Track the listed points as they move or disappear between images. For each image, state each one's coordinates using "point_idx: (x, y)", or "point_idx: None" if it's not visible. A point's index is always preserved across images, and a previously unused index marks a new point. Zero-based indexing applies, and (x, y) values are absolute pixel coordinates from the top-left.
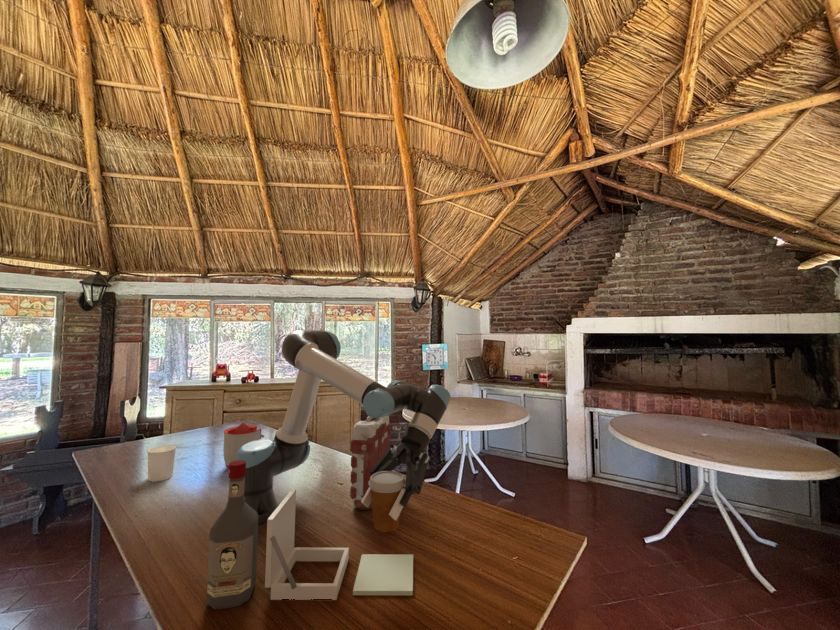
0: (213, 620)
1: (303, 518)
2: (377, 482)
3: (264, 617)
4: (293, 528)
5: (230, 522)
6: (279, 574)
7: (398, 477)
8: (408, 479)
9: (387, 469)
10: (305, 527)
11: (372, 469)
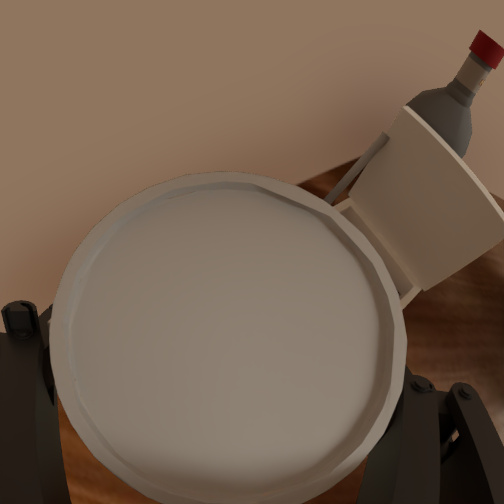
0: (355, 161)
1: (487, 388)
2: (233, 178)
3: (314, 185)
4: (446, 268)
5: (426, 92)
6: (368, 221)
7: (139, 423)
8: (10, 384)
9: (377, 491)
10: (468, 374)
11: (474, 405)
